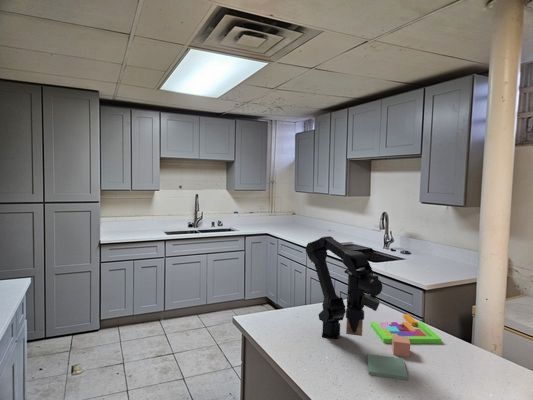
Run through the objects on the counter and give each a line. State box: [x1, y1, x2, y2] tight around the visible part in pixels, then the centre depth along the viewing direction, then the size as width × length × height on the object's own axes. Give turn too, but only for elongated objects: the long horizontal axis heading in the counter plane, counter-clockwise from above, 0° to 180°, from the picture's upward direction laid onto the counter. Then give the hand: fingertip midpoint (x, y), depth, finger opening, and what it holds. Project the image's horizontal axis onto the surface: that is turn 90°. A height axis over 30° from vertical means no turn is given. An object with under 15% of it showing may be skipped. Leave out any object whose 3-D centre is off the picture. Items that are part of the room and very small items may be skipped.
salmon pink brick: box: [391, 335, 411, 357], centre depth 132 cm, size 6×6×5 cm
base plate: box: [366, 353, 409, 381], centre depth 121 cm, size 12×12×1 cm
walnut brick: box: [345, 318, 364, 337], centre depth 133 cm, size 6×6×5 cm
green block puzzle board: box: [370, 313, 442, 344], centre depth 152 cm, size 23×2×25 cm
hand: (354, 328), depth 133 cm, fingers closed on walnut brick, 6 cm apart
